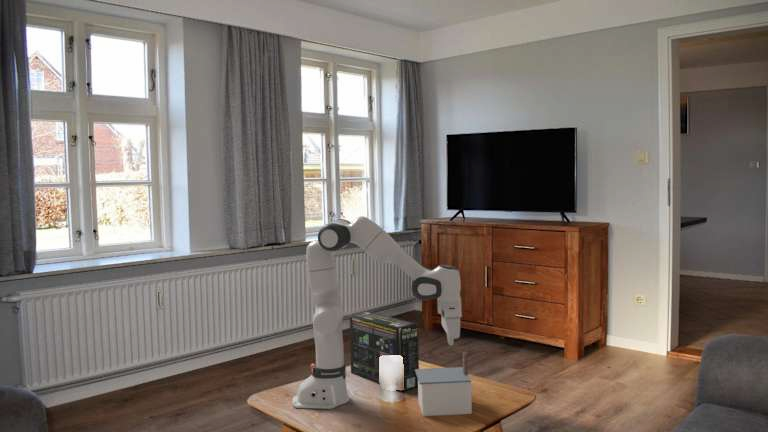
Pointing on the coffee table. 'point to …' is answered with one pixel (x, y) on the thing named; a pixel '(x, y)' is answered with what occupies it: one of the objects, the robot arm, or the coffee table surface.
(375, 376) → the router box
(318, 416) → the coffee table surface
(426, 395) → the carton
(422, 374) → the lid flap
